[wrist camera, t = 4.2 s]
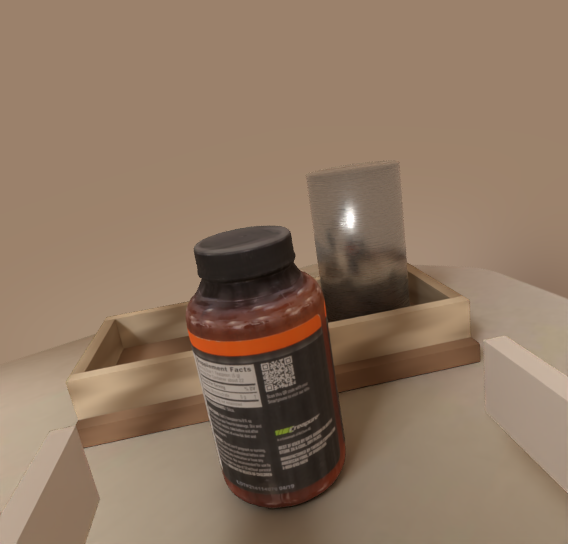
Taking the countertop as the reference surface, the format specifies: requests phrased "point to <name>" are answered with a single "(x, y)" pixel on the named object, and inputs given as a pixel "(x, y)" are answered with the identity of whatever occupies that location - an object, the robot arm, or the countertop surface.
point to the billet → (359, 238)
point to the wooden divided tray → (185, 380)
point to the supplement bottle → (266, 367)
